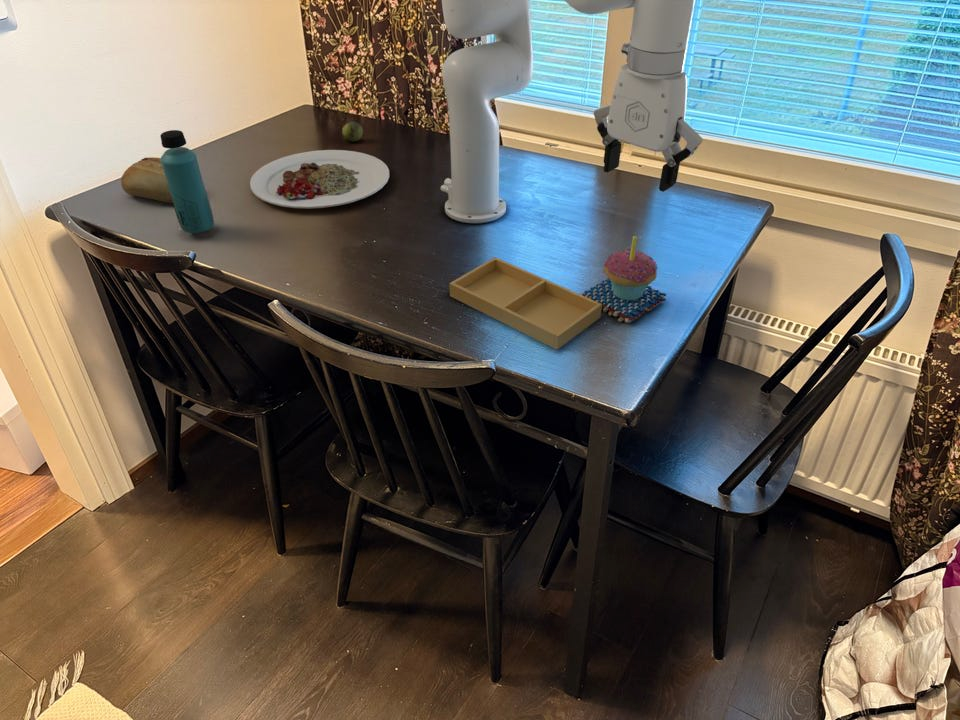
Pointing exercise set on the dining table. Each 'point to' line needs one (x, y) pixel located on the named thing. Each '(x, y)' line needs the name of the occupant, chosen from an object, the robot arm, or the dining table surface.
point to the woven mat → (624, 301)
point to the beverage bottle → (185, 184)
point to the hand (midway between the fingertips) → (637, 178)
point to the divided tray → (526, 302)
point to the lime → (352, 131)
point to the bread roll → (147, 180)
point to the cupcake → (630, 272)
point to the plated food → (319, 179)
